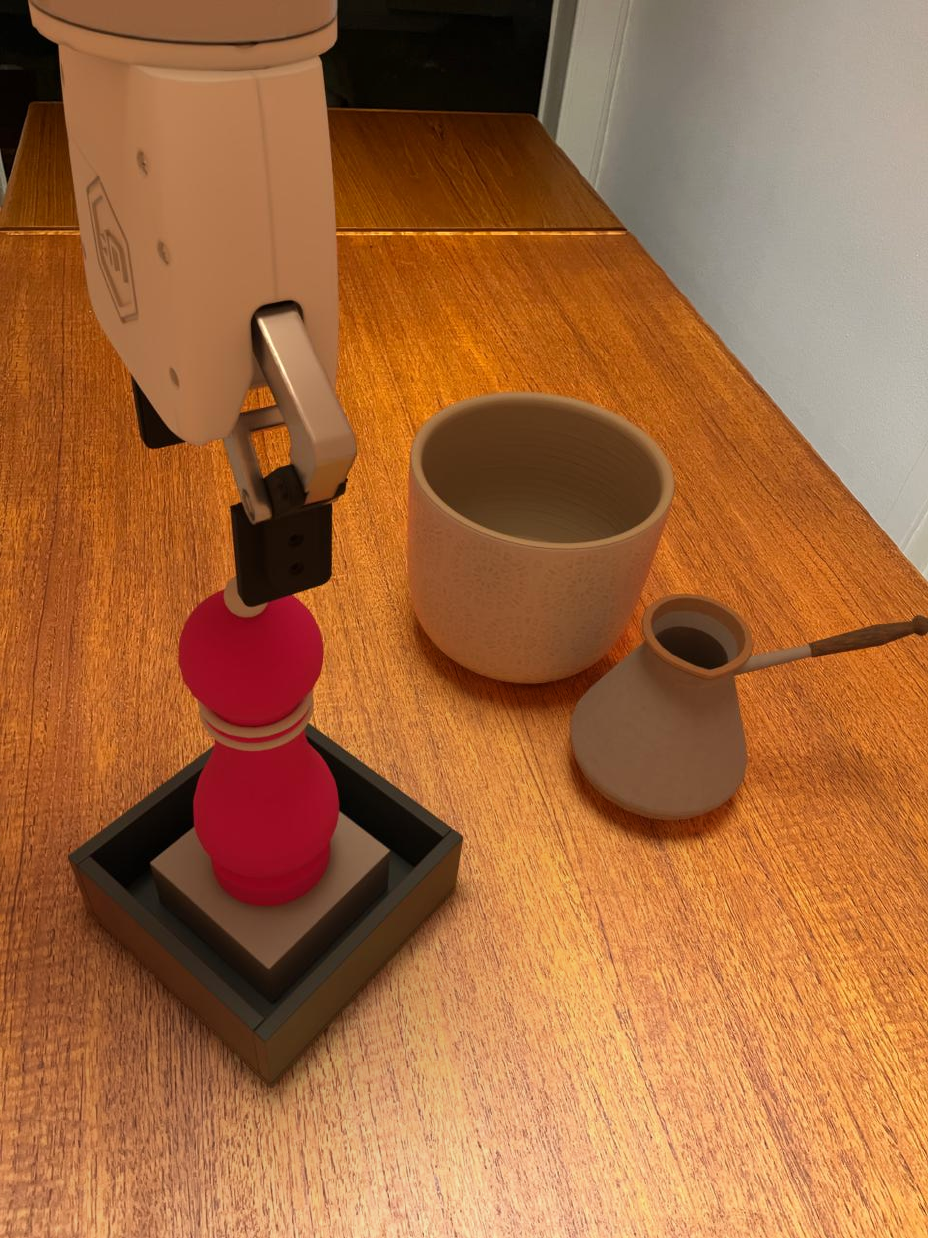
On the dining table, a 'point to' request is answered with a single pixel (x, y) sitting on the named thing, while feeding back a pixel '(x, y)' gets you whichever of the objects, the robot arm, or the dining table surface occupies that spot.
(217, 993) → the dark square tray
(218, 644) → the pepper mill
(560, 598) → the planter
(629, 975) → the dining table surface
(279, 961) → the brown square block
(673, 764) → the coffee pot
